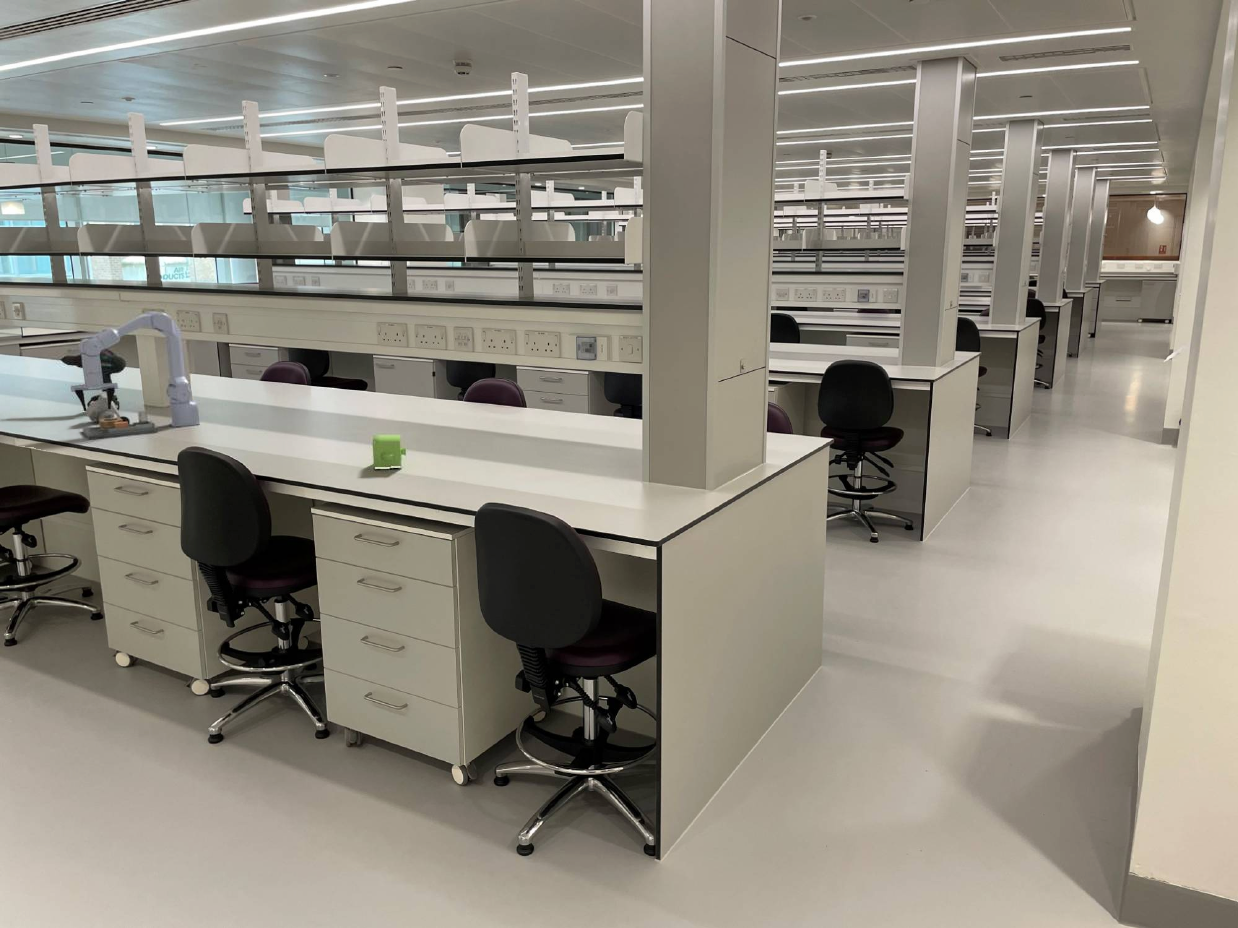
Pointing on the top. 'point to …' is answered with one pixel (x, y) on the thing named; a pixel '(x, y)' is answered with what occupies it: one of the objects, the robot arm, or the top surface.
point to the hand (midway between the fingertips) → (97, 409)
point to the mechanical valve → (103, 409)
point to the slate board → (120, 431)
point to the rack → (108, 422)
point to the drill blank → (142, 417)
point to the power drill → (107, 366)
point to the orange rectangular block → (121, 424)
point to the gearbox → (387, 450)
